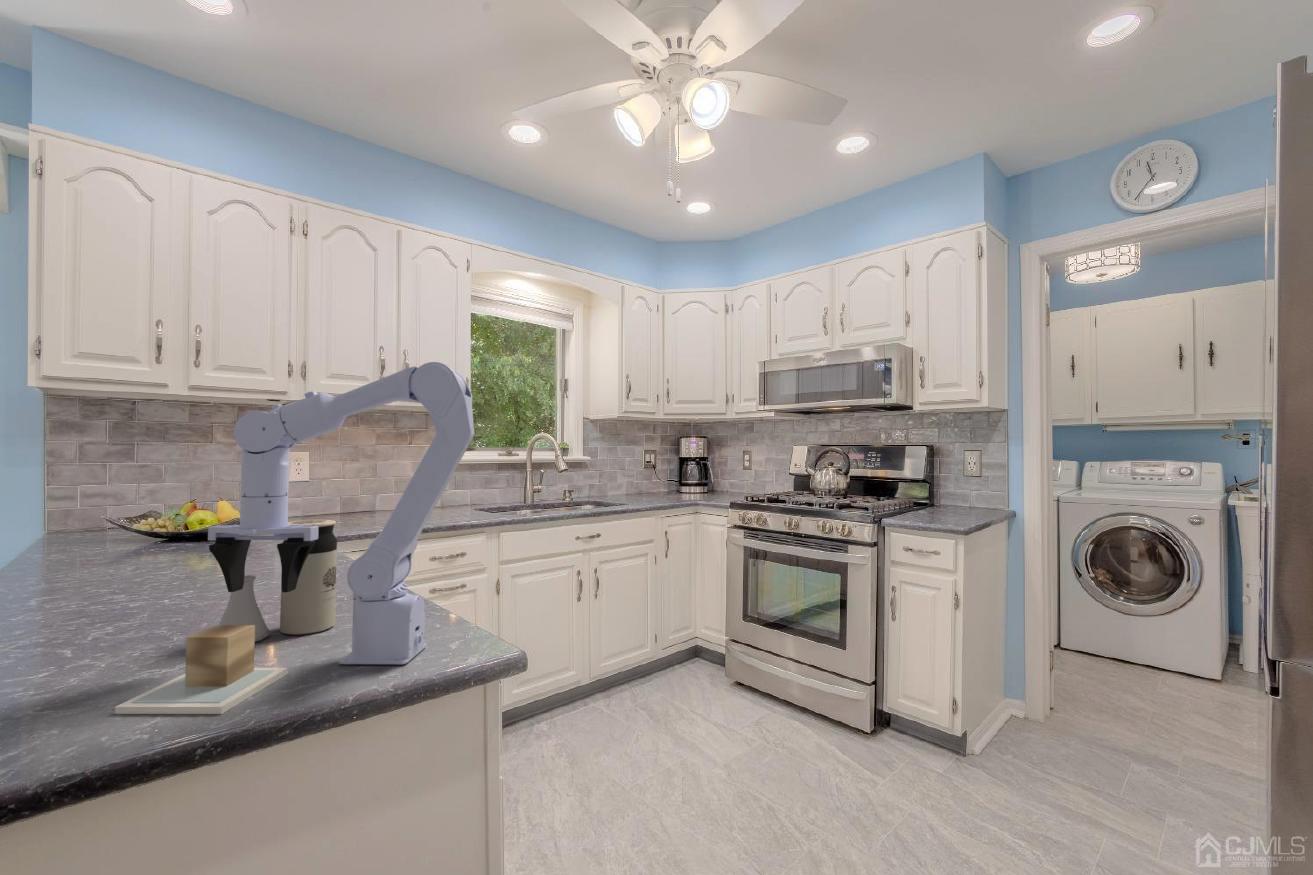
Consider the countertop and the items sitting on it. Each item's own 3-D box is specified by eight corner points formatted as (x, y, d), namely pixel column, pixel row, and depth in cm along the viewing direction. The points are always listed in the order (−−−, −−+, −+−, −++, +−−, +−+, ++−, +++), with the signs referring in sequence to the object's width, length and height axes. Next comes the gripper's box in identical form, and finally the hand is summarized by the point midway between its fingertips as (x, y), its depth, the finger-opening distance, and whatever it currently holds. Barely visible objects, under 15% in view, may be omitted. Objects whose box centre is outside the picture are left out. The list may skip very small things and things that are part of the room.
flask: (239, 649, 87) (241, 583, 87) (199, 646, 88) (202, 580, 88) (279, 634, 94) (281, 573, 94) (242, 631, 95) (244, 571, 96)
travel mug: (267, 634, 94) (270, 523, 95) (307, 620, 102) (309, 518, 102) (308, 637, 92) (311, 525, 93) (345, 623, 100) (348, 520, 101)
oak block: (253, 671, 76) (255, 625, 76) (226, 686, 71) (227, 637, 71) (215, 671, 76) (216, 625, 76) (184, 686, 71) (186, 637, 71)
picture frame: (287, 673, 77) (287, 666, 77) (221, 713, 65) (222, 705, 65) (197, 673, 77) (197, 666, 77) (114, 713, 65) (115, 705, 65)
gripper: (192, 497, 79) (188, 597, 78) (298, 498, 79) (296, 597, 79) (229, 494, 86) (226, 585, 85) (327, 494, 86) (325, 586, 86)
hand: (262, 590), depth 82 cm, fingers open, 7 cm apart
